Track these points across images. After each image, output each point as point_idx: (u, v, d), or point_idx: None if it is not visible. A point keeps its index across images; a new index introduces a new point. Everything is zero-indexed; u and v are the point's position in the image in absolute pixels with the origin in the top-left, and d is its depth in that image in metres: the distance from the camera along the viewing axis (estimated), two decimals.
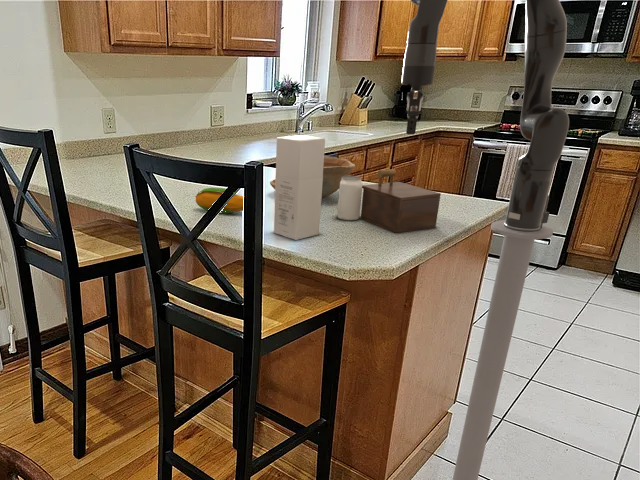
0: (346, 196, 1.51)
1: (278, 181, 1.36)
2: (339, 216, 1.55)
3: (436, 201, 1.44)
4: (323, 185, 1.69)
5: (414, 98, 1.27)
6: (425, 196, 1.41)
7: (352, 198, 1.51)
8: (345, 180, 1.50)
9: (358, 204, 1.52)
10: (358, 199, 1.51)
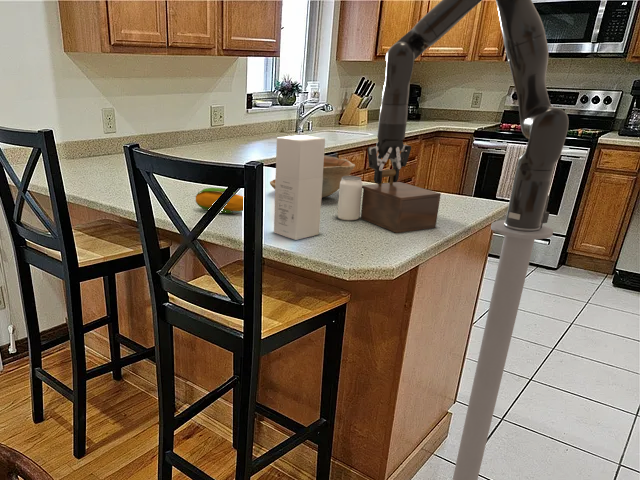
0: (346, 196, 1.51)
1: (278, 181, 1.36)
2: (339, 216, 1.55)
3: (436, 201, 1.44)
4: (323, 185, 1.69)
5: (370, 154, 1.48)
6: (425, 196, 1.41)
7: (352, 198, 1.51)
8: (345, 180, 1.50)
9: (358, 204, 1.52)
10: (358, 199, 1.51)
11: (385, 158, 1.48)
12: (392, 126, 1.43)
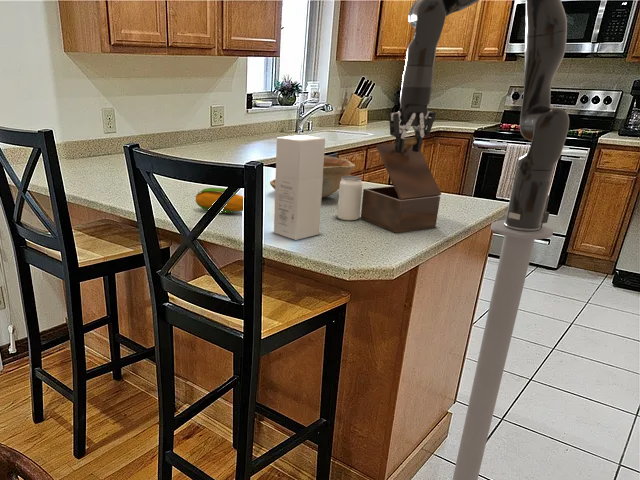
0: (346, 196, 1.51)
1: (278, 181, 1.36)
2: (339, 216, 1.55)
3: (436, 201, 1.44)
4: (323, 185, 1.69)
5: (392, 120, 1.37)
6: (425, 196, 1.41)
7: (352, 198, 1.51)
8: (345, 180, 1.50)
9: (358, 204, 1.52)
10: (358, 199, 1.51)
11: (408, 125, 1.38)
12: (417, 89, 1.33)
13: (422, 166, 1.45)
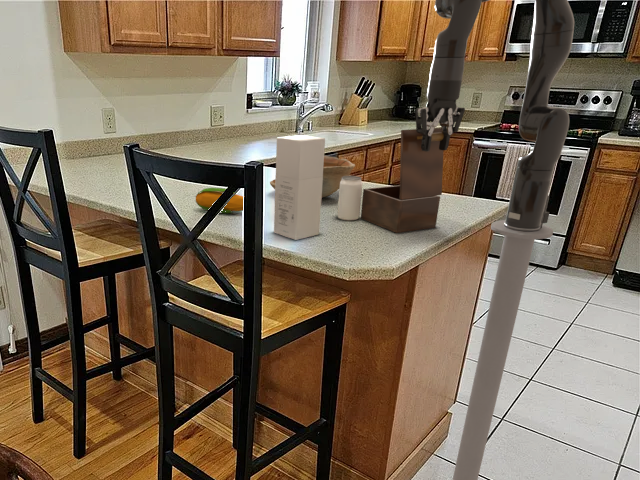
0: (346, 196, 1.51)
1: (278, 181, 1.36)
2: (339, 216, 1.55)
3: (436, 201, 1.44)
4: (323, 185, 1.69)
5: (419, 116, 1.28)
6: (425, 196, 1.41)
7: (352, 198, 1.51)
8: (345, 180, 1.50)
9: (358, 204, 1.52)
10: (358, 199, 1.51)
11: (436, 121, 1.28)
12: (446, 83, 1.24)
13: (437, 160, 1.40)
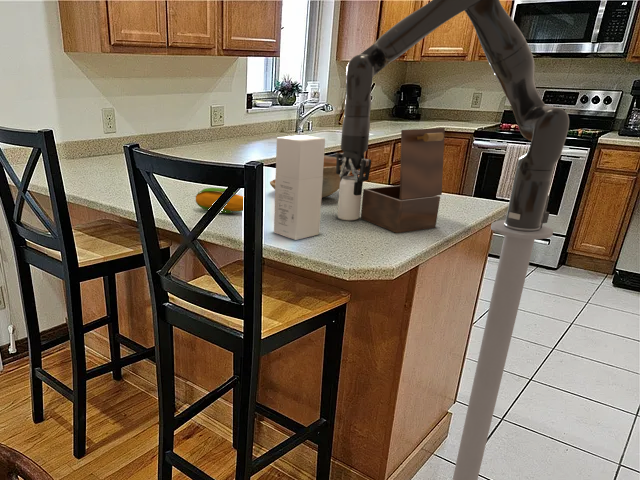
0: (346, 196, 1.51)
1: (278, 181, 1.36)
2: (339, 216, 1.55)
3: (436, 201, 1.44)
4: (323, 185, 1.69)
5: None
6: (425, 196, 1.41)
7: (352, 198, 1.51)
8: (345, 180, 1.50)
9: (358, 204, 1.52)
10: (358, 199, 1.51)
11: (342, 167, 1.52)
12: None
13: (437, 160, 1.40)
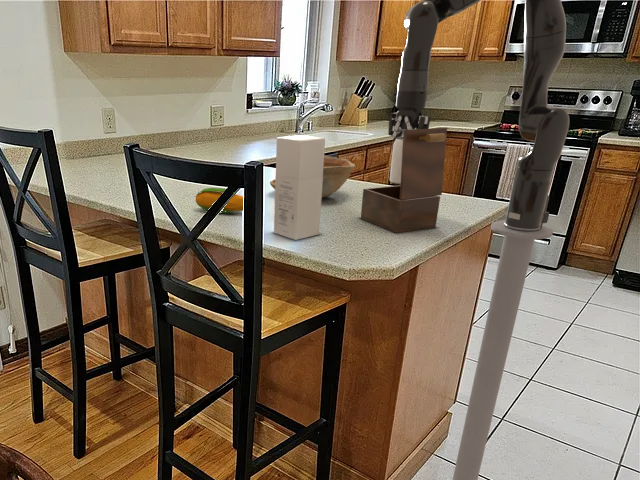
0: (401, 158, 1.42)
1: (278, 181, 1.36)
2: (392, 180, 1.46)
3: (436, 201, 1.44)
4: (323, 185, 1.69)
5: None
6: (425, 196, 1.41)
7: None
8: (400, 140, 1.41)
9: None
10: None
11: (396, 127, 1.43)
12: (397, 92, 1.39)
13: (438, 160, 1.39)
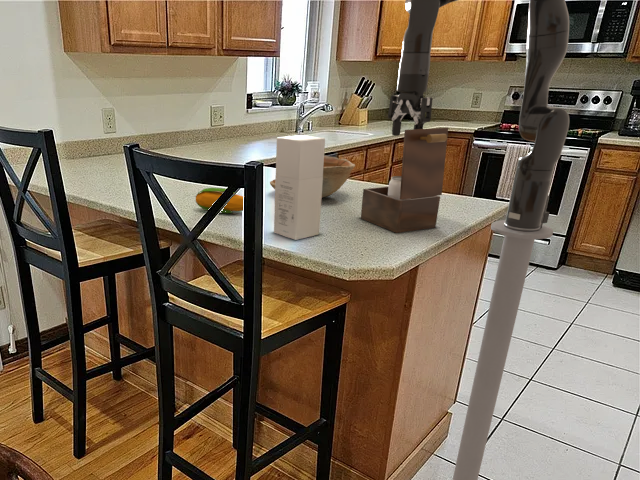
0: (396, 197, 1.46)
1: (278, 181, 1.36)
2: None
3: (436, 201, 1.44)
4: (323, 185, 1.69)
5: None
6: (425, 196, 1.41)
7: None
8: (395, 181, 1.45)
9: None
10: None
11: (398, 111, 1.41)
12: (398, 76, 1.37)
13: (439, 160, 1.39)
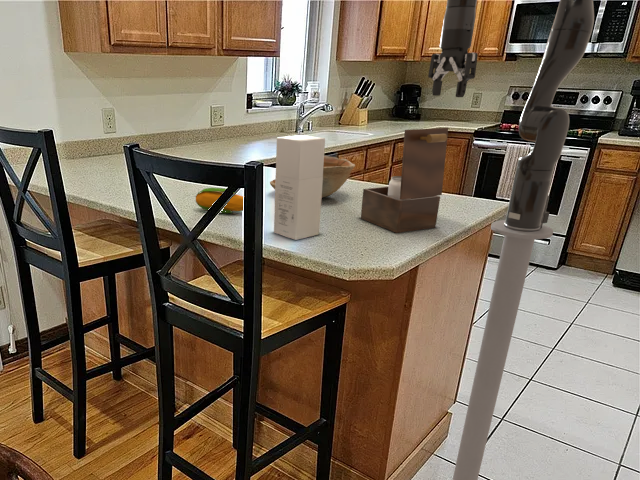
0: (396, 197, 1.46)
1: (278, 181, 1.36)
2: None
3: (436, 201, 1.44)
4: (323, 185, 1.69)
5: None
6: (425, 196, 1.41)
7: None
8: (395, 181, 1.45)
9: None
10: None
11: (439, 69, 1.38)
12: None
13: (439, 160, 1.39)
